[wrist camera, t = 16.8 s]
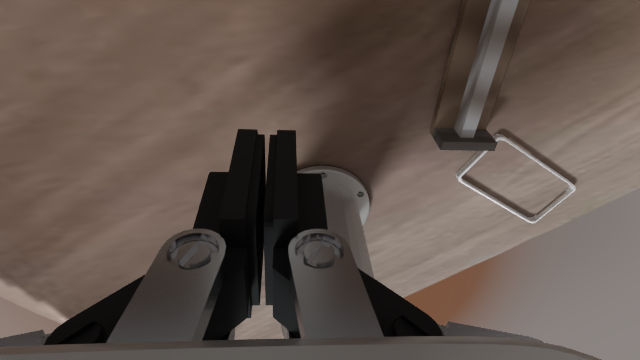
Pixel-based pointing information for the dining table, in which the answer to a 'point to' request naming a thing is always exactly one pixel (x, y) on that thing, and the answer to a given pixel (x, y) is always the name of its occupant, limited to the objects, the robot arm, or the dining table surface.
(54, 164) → the dining table surface
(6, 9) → the dining table surface
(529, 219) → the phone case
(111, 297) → the robot arm
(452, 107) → the rail base
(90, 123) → the dining table surface
